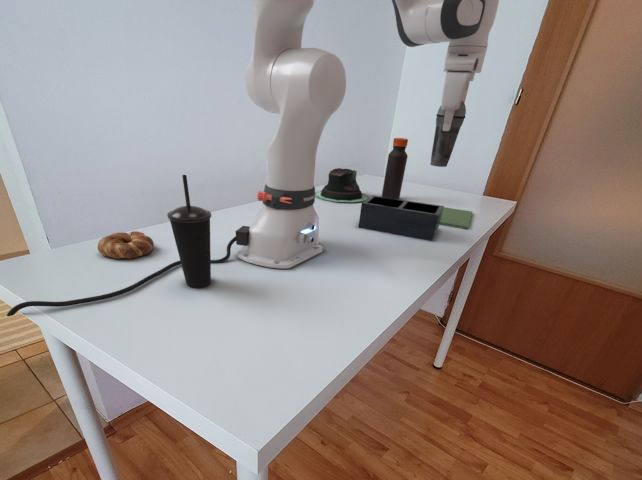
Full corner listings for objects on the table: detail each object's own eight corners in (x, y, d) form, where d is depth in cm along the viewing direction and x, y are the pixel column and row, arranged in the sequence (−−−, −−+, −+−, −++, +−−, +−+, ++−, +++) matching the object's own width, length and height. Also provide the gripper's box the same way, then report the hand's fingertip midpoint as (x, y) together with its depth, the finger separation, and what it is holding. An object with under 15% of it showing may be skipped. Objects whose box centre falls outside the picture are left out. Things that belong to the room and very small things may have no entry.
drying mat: (467, 229, 112) (468, 226, 111) (409, 219, 117) (409, 216, 117) (471, 213, 127) (472, 211, 126) (419, 205, 132) (420, 203, 132)
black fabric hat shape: (324, 184, 148) (372, 192, 144) (310, 217, 141) (361, 226, 137) (323, 151, 135) (376, 158, 131) (308, 185, 128) (363, 194, 124)
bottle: (378, 196, 141) (387, 137, 129) (393, 196, 142) (404, 137, 131) (386, 201, 135) (397, 139, 124) (402, 200, 137) (414, 140, 125)
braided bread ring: (98, 263, 78) (93, 246, 76) (100, 246, 87) (95, 230, 84) (156, 258, 82) (153, 242, 80) (153, 241, 90) (150, 226, 88)
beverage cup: (455, 168, 98) (480, 76, 86) (428, 167, 98) (450, 74, 86) (447, 163, 104) (470, 76, 92) (422, 161, 104) (442, 74, 92)
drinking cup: (201, 271, 78) (189, 169, 66) (225, 282, 74) (216, 176, 62) (171, 282, 73) (151, 174, 61) (194, 295, 69) (178, 182, 57)
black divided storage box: (432, 241, 101) (438, 215, 97) (358, 227, 108) (361, 203, 104) (437, 230, 110) (444, 206, 105) (368, 218, 116) (372, 195, 112)
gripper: (454, 65, 96) (440, 126, 105) (444, 60, 81) (429, 131, 89) (479, 65, 94) (463, 127, 103) (474, 61, 79) (456, 134, 87)
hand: (447, 129), depth 96 cm, fingers closed on beverage cup, 6 cm apart
